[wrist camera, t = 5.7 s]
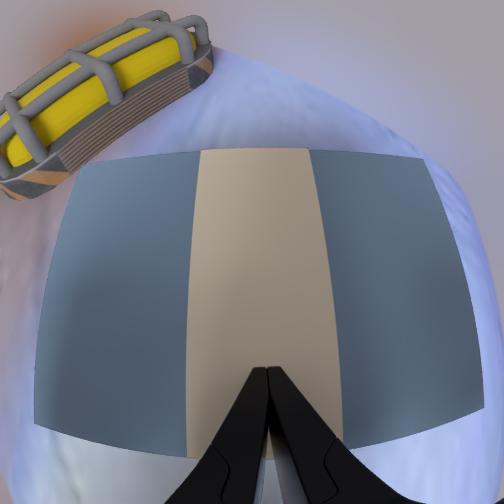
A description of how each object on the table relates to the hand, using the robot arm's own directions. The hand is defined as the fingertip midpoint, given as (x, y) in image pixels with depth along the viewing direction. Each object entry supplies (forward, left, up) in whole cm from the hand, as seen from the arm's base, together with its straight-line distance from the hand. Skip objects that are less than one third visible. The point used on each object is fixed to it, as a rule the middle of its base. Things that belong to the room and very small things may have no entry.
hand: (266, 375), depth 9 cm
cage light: (+27, +17, -9) cm, 33 cm away
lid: (+3, 0, -1) cm, 4 cm away
